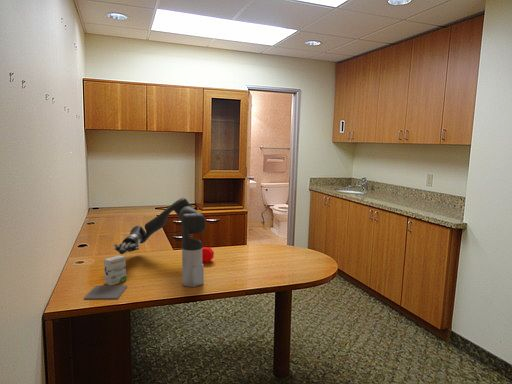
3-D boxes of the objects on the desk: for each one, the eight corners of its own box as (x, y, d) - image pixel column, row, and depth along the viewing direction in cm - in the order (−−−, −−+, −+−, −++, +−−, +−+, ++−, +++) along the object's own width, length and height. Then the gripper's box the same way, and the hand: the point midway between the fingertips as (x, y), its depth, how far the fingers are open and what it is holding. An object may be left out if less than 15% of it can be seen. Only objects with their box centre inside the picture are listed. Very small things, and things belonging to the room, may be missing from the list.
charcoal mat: (127, 286, 168) (127, 285, 168) (117, 299, 155) (117, 297, 155) (96, 286, 167) (96, 285, 167) (83, 299, 154) (83, 298, 154)
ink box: (121, 278, 178) (120, 254, 176) (126, 280, 175) (126, 256, 173) (104, 283, 171) (103, 258, 170) (109, 286, 168) (108, 261, 167)
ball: (214, 259, 208) (214, 246, 207) (209, 264, 200) (209, 250, 199) (201, 258, 209) (201, 245, 208) (196, 263, 202) (196, 249, 201)
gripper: (143, 249, 200) (135, 259, 183) (119, 249, 199) (107, 259, 182) (143, 235, 199) (134, 244, 182) (118, 235, 198) (107, 244, 181)
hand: (121, 252), depth 182 cm, fingers closed
